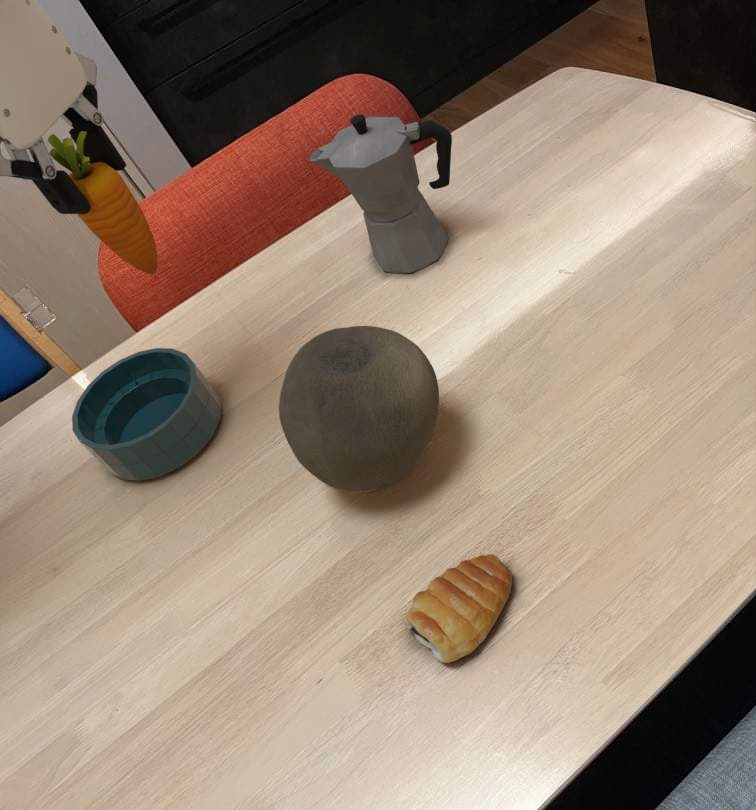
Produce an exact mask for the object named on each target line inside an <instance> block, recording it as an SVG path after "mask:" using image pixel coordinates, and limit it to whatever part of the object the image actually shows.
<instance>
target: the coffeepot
mask: <svg viewBox="0 0 756 810" xmlns="http://www.w3.org/2000/svg"><path fill="white" fill-rule="evenodd" d="M349 122H350V124H351V125H348V126H347V127H344V128H343V129H340V130H339V131H338V132H337V133H336V134H335V136H334V138H333V139H332V140H331V141H330V142H328V143H326V144H323V145H322V146H320V147H317V149H316V150H315V151H313V152H312V153H311V155H310V158H309V163H312V164H313V163H314V164H316V165H318V166H320V167H321V168H323V169H324V170H326V171H327V172H329V173H330V174H332V175H333V176H334V177H336V178H338V179H339V180H340V181H342V182H343V184H344V185H345V186H346V187H347V189H348V191H349V192H350V194H351V195H352V197H353V198H354V200H355V202H356V203H357V204H358V206H359V207H360V209H361V210H362V211H363V214H362V215H363V219H364V223H365V227H366V231H367V235H368V239H369V243H370V247H371V251H372V255H373V257H374V260H376V262H377V264H378V265H379V267H380V268H381V270H382V272H387V273H392V274H397V275H403V274H411V273H414V272H418V271H421V270H423V269H425V268H426V267H427V268H428V266H430V265H432V264H433V263H435V262H436V261H438V259H439V258H440V257H441V256H442V255H443V253H444V251H445V249H446V248H447V242H448V241H449V239H450V237H449V236H448V234H447V233H446V231H445V229H444V228H443V226H442V224H441V223H440V221H439V220H438V218H437V216H436V214H435V213H434V211H433V210H432V208H431V206H430V205H429V203H428V202H427V200H426V199H425V196H424V195H423V194H422V192H421V191H420V189H419V185H420V178H419V173H418V168H417V163H416V158H415V154H414V148H413V145H415V144H418V143H421V142H423V141H425V140H427V139H435V140H436V143H435V151H436V155H437V161H436V171H437V173H438V178H437V179H436V180H433V181H430V182H429V183H428V184H429V186H430V187H431V188H432V189H433V190H438V189H442V188H445V187H448V186H449V185H450V183H451V182H450V181H451V180H450V179H451V178H450V177H451V163H452V162H451V161H452V144H453V136H452V133H451V131H450V130H449V129H448V128H447V127H445V126H443V125H442V124H440V123H438V122H436V121H435V120H433V119H428V120H425V121H422V122H418V121H414V122H411V123H407V124H404V122H403V121H402V120H401V119H400V118H399V116H368V117H366V116H365V115H364V114H356V115H354V116H352V117H351V118H350V119H349Z"/></svg>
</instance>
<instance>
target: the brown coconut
mask: <svg viewBox="0 0 756 810" xmlns="http://www.w3.org/2000/svg"><path fill="white" fill-rule="evenodd" d="M436 374H437V373H436V372H435V369H434V367H433V365H432V362H431V361H430V360H429V357H427V355H426V354H425V353H424V352H423V350H422V349H421V348H420V347H419V346H418V344H416V343H415V342H414V341H412V340H410V339H409V338H407V337H406V336H405V335H403V334H401V333H399V332H397V331H395V330H392V329H387V328H383V327H379V326H373V325H353V326H348V327H347V326H346V327H339V328H333V329H330V330H325V331H324V332H322V333H320V334H317V335H315V336H314V337H312V338H311V339H310V340H308V341H306V343H304V344H303V345H302V346H301V347H300V348H299V349H298V351H297V352H296V353H295V354H294V356H293V358H292V359H291V361H290V362H289V365H288V367H287V369H286V371H285V375H284V378H283V381H282V386H281V389H280V393H279V402H278V415H279V421H280V425H281V429H282V432H283V434H284V436H285V439H286V441H287V444H288V445H289V447H290V449H291V451H292V453H293V455H294V457H295V458H296V460H297V461H298V462H299V464H300V465H301V466H302V467H303V468H304V469H305V470H306V471H307V472H309V474H311V475H312V476H313V477H315V478H316V479H317V480H318V481H320V482H321V483H323V484H324V485H326V486H328V487H330V488H333V489H335V490H338V491H342V492H352V493H368V492H373V491H378V490H382V489H385V488H388V487H390V486H392V485H394V484H396V483H398V482H399V481H401V480H402V479H404V478H405V477H406V476H407V475H409V474H410V473H411V472H412V471H413V470H414V469H415V468H416V467H417V466H418V464H419V462H420V461H421V459H422V457H423V455H424V453H425V451H426V450H427V449H428V446H429V444H430V442H431V440H432V438H433V435H434V431H435V428H436V425H437V421H438V416H439V410H440V389H439V383H438V377H437V375H436Z"/></svg>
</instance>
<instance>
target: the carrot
mask: <svg viewBox="0 0 756 810" xmlns="http://www.w3.org/2000/svg"><path fill="white" fill-rule="evenodd" d="M86 135H87V132H85V131H81V132H80V134H79V136H78V138H77V145H76V148H75V143H74V141H73V139H72V138H71V137H65V138H63V139H61V140H62V141H61V140H60V139H59V137H57V135H55V134H54V133H53V134H50V135H49V136H48V138H47V142H48V143H49V144H50V146H52V148H51V149H50V151H49V154H50V157H51V159H52V160H54V161H55V162H56V163H58V164H59V165H60V166H62V167H64V168H65V169H66V170H68V171H70V173H68V175H69V176H70V178H71V179H72V181H73V182H74V183H75V185H76V186H77V187H78V189H79V190H80V191H81V193H82V194H83V196H84V197H85V198H86V200H87V201H88V202H89V204H90V205H91V210H90V211H89V212H88V213H87V214H77V216H78V217H79V218H80V220H82V222H83V223H84V225H86V227H87V228H88V229H89V231H91V232H92V233H93V235H95V236H96V237H97V239H99V240H100V241H101V242H102V243H103V244H104V245H105V246H106V247H108V248H109V250H111V251H112V252H113V253H114V254H115V255H116V256H118V258H120V259H122V260H123V262H125V263H127V264H128V265H130V266H132V267H133V268H134V269H137V270H138V271H141V272H143V273H145V274H147V275H156V273H157V270H158V268H159V264H158V250H157V245H156V240H155V238H154V235H153V233H152V232H153V231H152V229H151V227H150V225H149V223H148V220H147V218H146V216H145V214H144V211H143V210H142V208H141V206H140V205H139V203H138V201H137V199H136V197H134V195H133V193H132V191H131V189H130V188H129V187H128V185H127V183H126V182H125V180H124V179H123V177H122V176H121V174H120V173H119V171H115V170H114V169H113V168H112V167H110V166H109V165H107V164H106V163H103V162H97V163H92V164H90V163H89V161H90V158H89V157H85V156H84V153H83V148H84V141H85V138H86Z"/></svg>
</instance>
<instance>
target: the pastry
mask: <svg viewBox="0 0 756 810" xmlns="http://www.w3.org/2000/svg"><path fill="white" fill-rule="evenodd" d="M512 576H513V575H512V572H511V571H510V569H509V567H508V566H507V565H506V564H505V563H503V561H502V560H501V559H500V558H499V557H498V556H497V555H495V554H494V553H493V554H484V555H483V554H481V555H478V556H476V557H473V558H470V559H464V560H462V561H460V563H458V565H457V566H455V567H450V568H447V569H446V570H445V571H444V572H443V574H442V575H440V576H436V577H434V578H433V579H432V580H430V582H429V583H428V586H427V589H426V590H422V591H421V590H420V591H418V592H417V593H416V594H415V595H414V597H413V598H412V602H411V606H410V608H409V610H407V611H406V613H405V615H404V617H403V619H402V623H403V625H404V627H405V628H406V629H407V630H408V631H410V632H411V633H412V634H414V637H415V639H416V640H417V641H418V642H419V643H420V644H422V645H423V646H425V647H426V648H428V649H430V650H431V653H432V655H433V657H434V658H435V659H437V660H438V661H439V662H440V663H444V664H449V663H453V662H455V661H458V660H459V659H461V658H463V657H466V656H468V655H470V654H471V653H473V652H474V651H475V650H476V649H477V648H478V647H479V646H480V644H482V643H484V641H485V640H486V638H487V636H488V634H489V633H490V632H491V630H492V628H493V626H494V625H495V624H496V622H497V620H498V619H499V616H500V614H501V613H502V611H503V609H504V607H505V605H506V603H507V601H508V599H509V597H510V595H511V590H512V584H513V577H512Z"/></svg>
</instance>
